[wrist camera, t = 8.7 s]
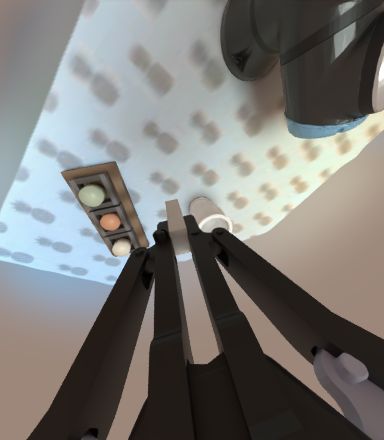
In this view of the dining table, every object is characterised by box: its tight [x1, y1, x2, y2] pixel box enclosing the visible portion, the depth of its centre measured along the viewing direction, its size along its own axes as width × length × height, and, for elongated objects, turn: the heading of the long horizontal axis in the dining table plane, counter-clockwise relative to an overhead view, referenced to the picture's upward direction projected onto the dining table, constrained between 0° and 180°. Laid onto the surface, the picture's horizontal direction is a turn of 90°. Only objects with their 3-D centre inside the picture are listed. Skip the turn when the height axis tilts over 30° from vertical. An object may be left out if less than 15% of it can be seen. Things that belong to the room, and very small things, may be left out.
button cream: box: [112, 238, 131, 256], centre depth 45 cm, size 5×5×3 cm
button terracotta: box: [100, 211, 121, 231], centre depth 42 cm, size 5×5×3 cm
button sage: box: [79, 184, 106, 207], centre depth 35 cm, size 5×5×3 cm
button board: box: [61, 162, 149, 257], centre depth 43 cm, size 30×13×5 cm, turn 9°
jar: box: [190, 197, 232, 233], centre depth 45 cm, size 11×10×15 cm
